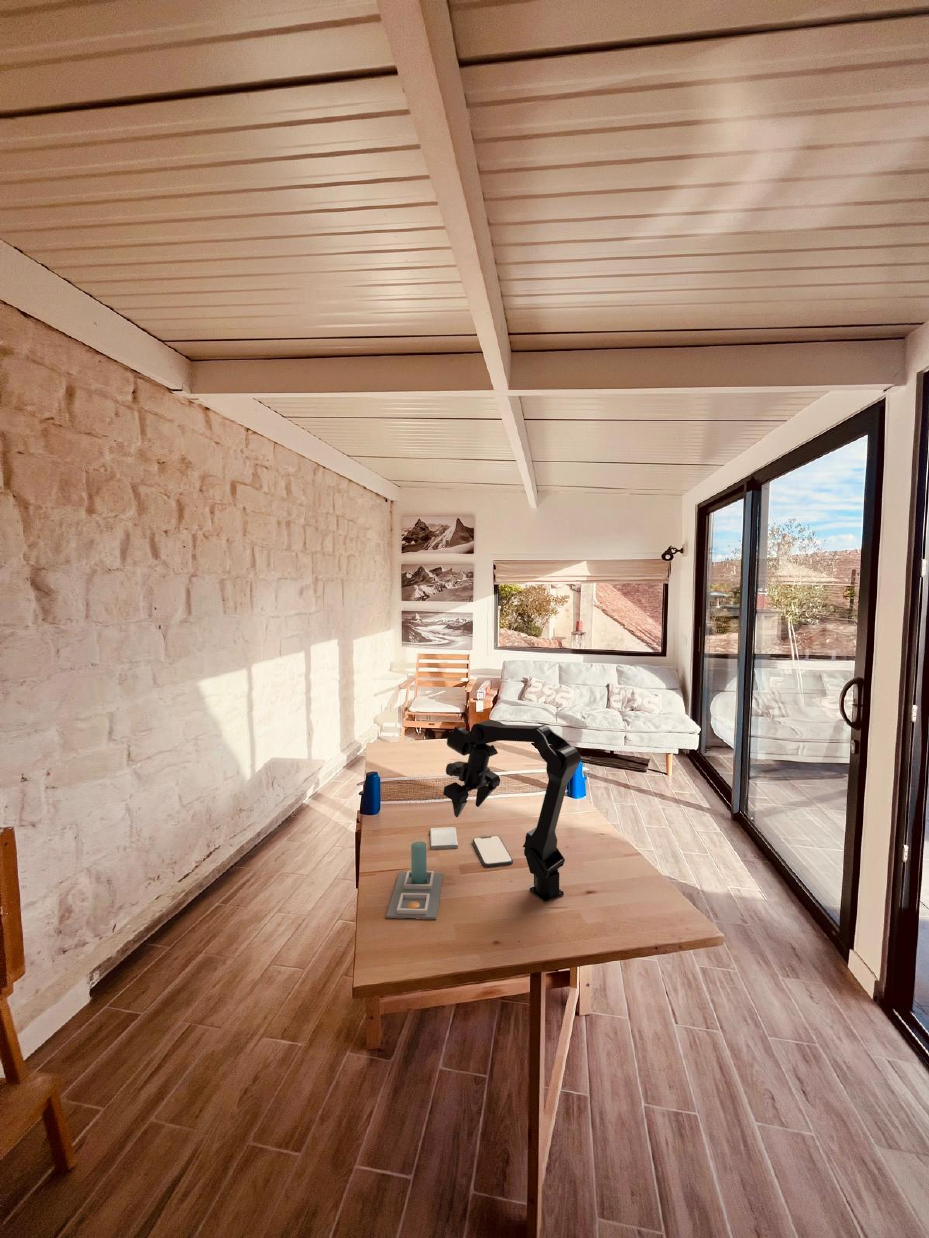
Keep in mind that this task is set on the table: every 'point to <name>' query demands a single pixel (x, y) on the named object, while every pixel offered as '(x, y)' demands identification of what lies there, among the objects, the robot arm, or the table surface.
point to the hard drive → (443, 838)
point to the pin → (418, 863)
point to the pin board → (415, 897)
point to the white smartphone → (492, 851)
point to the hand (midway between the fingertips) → (466, 811)
